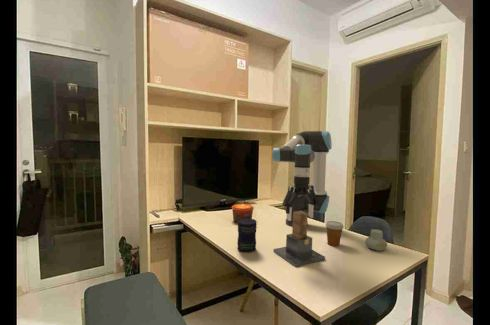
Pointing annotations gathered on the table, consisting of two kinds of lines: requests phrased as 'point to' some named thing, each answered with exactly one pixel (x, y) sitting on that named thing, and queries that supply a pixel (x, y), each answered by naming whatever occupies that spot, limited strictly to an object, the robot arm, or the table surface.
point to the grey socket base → (298, 251)
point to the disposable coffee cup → (334, 232)
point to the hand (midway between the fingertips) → (299, 218)
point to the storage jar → (246, 235)
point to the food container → (242, 211)
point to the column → (299, 224)
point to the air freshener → (376, 240)
